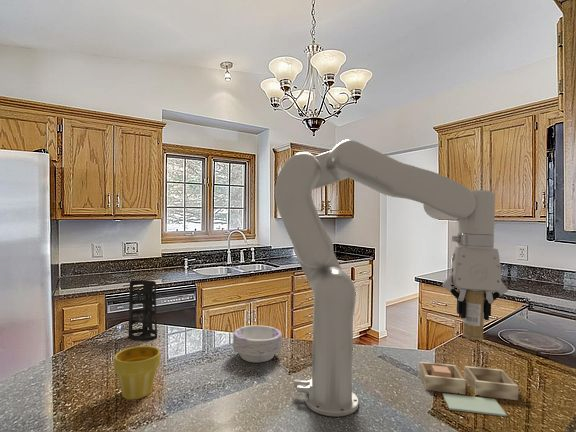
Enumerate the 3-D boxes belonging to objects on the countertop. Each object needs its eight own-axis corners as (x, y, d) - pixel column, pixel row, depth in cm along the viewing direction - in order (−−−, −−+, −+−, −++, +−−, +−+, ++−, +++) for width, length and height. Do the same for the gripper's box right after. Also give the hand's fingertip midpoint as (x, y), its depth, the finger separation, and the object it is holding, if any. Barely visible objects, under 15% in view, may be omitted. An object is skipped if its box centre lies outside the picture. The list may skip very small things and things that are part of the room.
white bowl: (290, 360, 107) (291, 334, 107) (246, 371, 98) (247, 343, 98) (265, 345, 119) (266, 321, 120) (224, 353, 111) (225, 329, 111)
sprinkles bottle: (487, 338, 82) (489, 282, 83) (477, 341, 80) (479, 283, 80) (468, 333, 86) (470, 279, 86) (458, 336, 84) (460, 280, 84)
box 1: (425, 389, 90) (425, 376, 90) (419, 373, 99) (419, 361, 99) (465, 394, 88) (465, 380, 88) (455, 377, 97) (455, 365, 97)
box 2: (475, 395, 87) (475, 381, 87) (464, 378, 97) (464, 365, 97) (518, 400, 85) (518, 385, 85) (502, 382, 95) (502, 369, 95)
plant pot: (130, 409, 78) (131, 365, 78) (104, 395, 83) (105, 355, 83) (168, 390, 87) (169, 351, 87) (142, 379, 92) (143, 342, 92)
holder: (122, 340, 121) (124, 283, 121) (132, 333, 129) (133, 279, 129) (154, 341, 121) (155, 283, 121) (162, 333, 129) (163, 280, 129)
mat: (449, 409, 80) (449, 407, 80) (442, 394, 87) (442, 393, 87) (506, 416, 78) (506, 414, 78) (494, 400, 85) (494, 399, 85)
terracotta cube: (434, 386, 92) (434, 371, 92) (431, 379, 96) (431, 365, 96) (450, 388, 91) (450, 373, 91) (446, 381, 95) (447, 366, 95)
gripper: (442, 240, 81) (439, 319, 81) (521, 244, 78) (519, 325, 78) (434, 239, 89) (432, 311, 88) (507, 242, 85) (505, 317, 85)
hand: (473, 317), depth 83 cm, fingers closed on sprinkles bottle, 4 cm apart
